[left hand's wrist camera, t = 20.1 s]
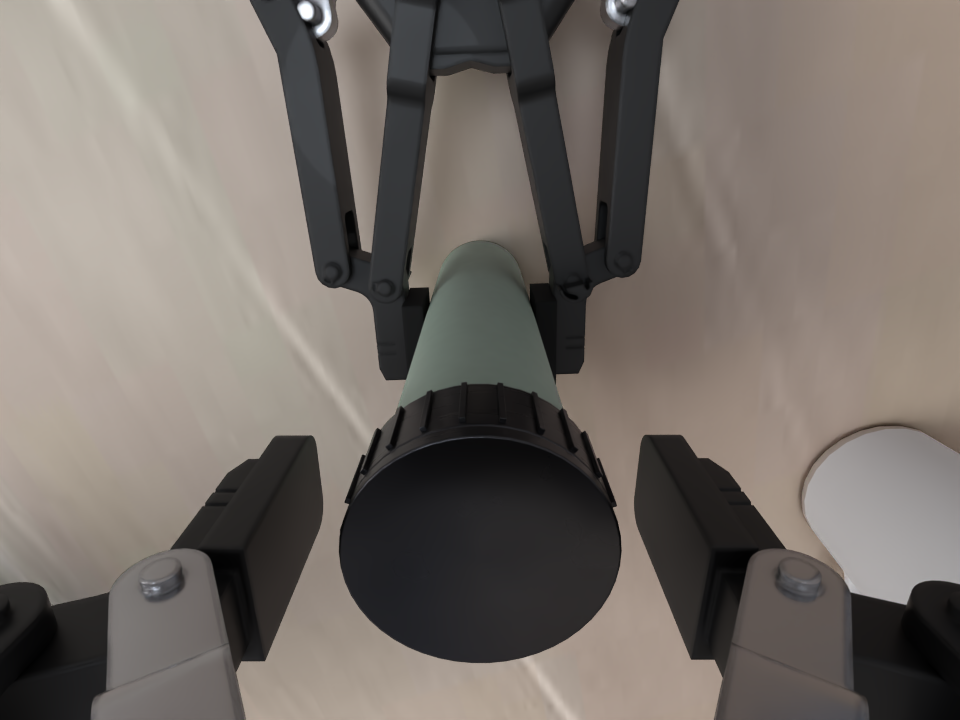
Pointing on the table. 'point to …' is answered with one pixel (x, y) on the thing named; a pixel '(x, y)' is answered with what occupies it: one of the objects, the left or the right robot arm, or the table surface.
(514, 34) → the right robot arm
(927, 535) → the mug
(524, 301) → the slim green bottle
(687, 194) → the table surface
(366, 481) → the lid
